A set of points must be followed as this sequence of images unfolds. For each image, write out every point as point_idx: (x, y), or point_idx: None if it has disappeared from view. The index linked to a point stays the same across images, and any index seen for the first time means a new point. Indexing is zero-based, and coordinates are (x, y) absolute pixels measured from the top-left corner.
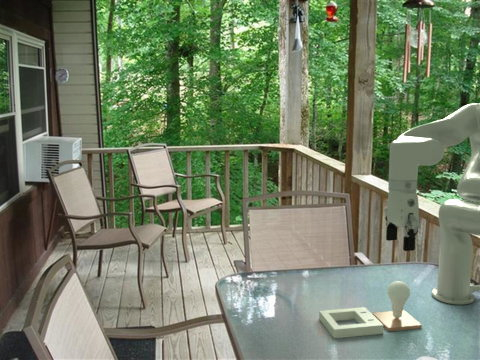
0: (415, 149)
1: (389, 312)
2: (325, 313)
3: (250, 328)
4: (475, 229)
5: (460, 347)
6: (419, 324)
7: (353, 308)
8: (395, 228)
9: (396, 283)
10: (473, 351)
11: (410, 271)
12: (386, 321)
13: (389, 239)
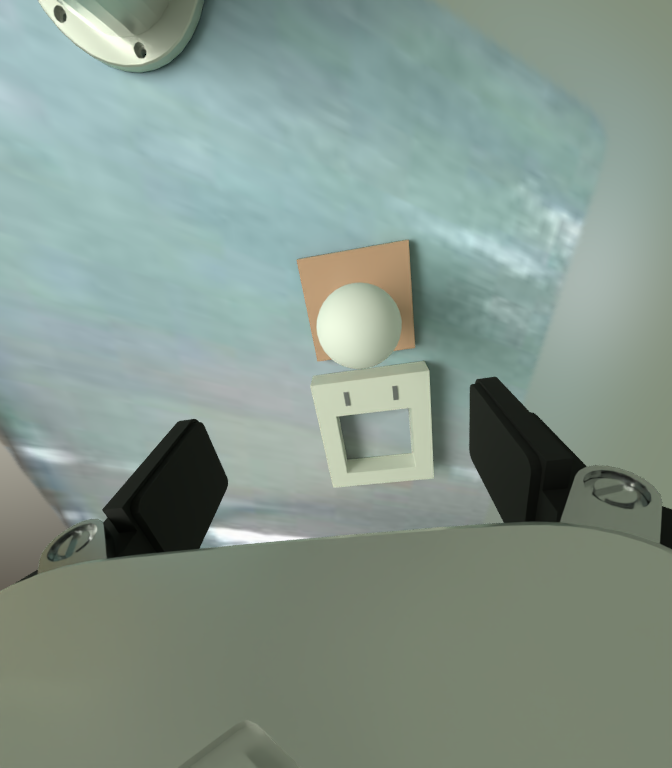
0: None
1: (316, 313)
2: (348, 479)
3: None
4: None
5: (553, 156)
6: (406, 247)
7: (319, 415)
8: (153, 514)
9: (369, 353)
10: (591, 118)
11: None
12: None
13: (222, 477)
